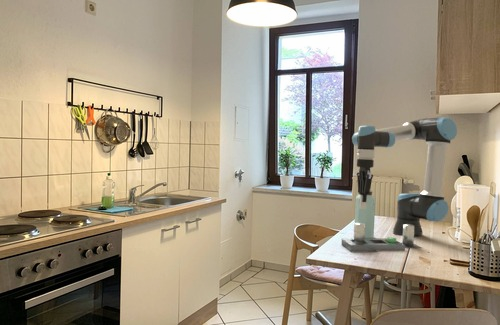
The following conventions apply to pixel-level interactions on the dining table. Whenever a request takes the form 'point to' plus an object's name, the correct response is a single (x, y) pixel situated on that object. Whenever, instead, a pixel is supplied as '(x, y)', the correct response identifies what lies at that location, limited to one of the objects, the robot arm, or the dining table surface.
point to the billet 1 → (359, 233)
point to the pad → (414, 246)
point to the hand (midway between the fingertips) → (362, 208)
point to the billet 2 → (408, 235)
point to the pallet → (371, 245)
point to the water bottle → (366, 214)
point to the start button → (391, 240)
